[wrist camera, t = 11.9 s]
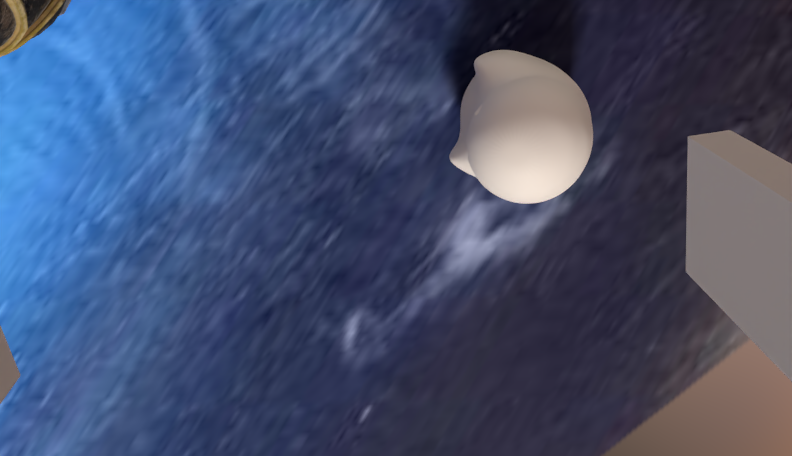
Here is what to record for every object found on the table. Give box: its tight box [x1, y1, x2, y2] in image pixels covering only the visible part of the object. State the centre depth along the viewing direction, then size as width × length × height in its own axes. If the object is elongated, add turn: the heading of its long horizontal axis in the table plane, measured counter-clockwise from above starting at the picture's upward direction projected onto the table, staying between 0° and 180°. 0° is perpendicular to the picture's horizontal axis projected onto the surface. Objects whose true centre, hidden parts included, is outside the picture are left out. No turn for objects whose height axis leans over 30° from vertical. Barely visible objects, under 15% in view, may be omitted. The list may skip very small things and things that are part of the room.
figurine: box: [449, 50, 593, 203], centre depth 40 cm, size 7×8×12 cm
